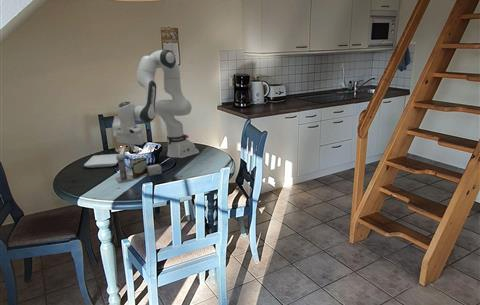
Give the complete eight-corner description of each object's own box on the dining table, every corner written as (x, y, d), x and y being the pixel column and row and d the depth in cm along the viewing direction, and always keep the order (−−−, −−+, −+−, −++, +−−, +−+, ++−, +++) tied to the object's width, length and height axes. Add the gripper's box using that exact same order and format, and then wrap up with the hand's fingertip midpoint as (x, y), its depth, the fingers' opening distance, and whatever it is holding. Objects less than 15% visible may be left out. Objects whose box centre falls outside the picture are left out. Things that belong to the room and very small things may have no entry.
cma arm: (125, 159, 213) (125, 156, 213) (115, 160, 212) (114, 157, 212) (129, 147, 236) (129, 144, 236) (120, 148, 235) (119, 145, 235)
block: (159, 171, 231) (158, 163, 229) (161, 173, 227) (160, 165, 225) (146, 174, 227) (145, 166, 226) (148, 176, 223) (147, 168, 222)
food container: (141, 171, 232) (139, 156, 229) (148, 172, 229) (146, 157, 226) (126, 177, 222) (124, 162, 219) (134, 179, 219) (131, 163, 216)
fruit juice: (115, 153, 270) (110, 115, 262) (115, 149, 279) (109, 113, 270) (129, 151, 273) (124, 114, 265) (128, 148, 282) (123, 112, 273)
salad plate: (93, 159, 260) (93, 155, 258) (124, 157, 261) (123, 153, 260) (83, 170, 239) (82, 165, 238) (117, 168, 241) (116, 163, 240)
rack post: (129, 176, 224) (126, 156, 221) (132, 180, 218) (129, 159, 214) (115, 179, 221) (112, 159, 217) (118, 183, 214) (115, 162, 210)
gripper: (112, 128, 230) (116, 149, 234) (136, 131, 220) (140, 153, 225) (119, 126, 235) (123, 146, 240) (144, 128, 226) (147, 150, 230)
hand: (131, 150), depth 232 cm, fingers closed
